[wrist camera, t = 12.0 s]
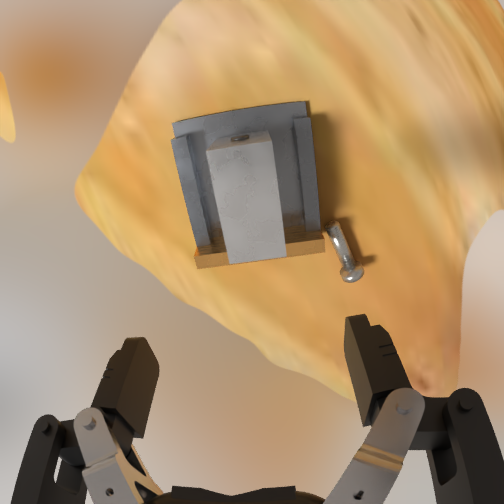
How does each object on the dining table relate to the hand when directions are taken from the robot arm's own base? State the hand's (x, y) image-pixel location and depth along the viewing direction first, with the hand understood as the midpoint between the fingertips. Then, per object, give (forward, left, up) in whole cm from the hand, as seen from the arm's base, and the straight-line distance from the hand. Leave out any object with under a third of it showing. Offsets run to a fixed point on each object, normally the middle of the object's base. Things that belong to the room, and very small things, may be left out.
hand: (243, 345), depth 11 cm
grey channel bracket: (+1, 0, -22) cm, 22 cm away
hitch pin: (+9, +9, -22) cm, 25 cm away
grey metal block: (0, 0, -22) cm, 22 cm away
